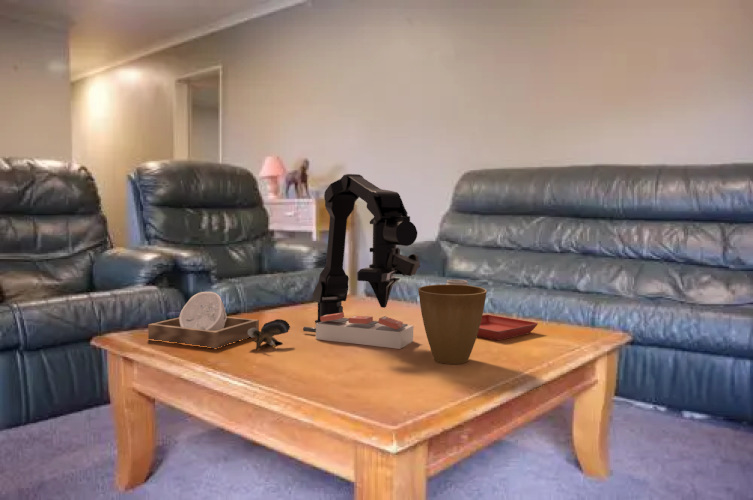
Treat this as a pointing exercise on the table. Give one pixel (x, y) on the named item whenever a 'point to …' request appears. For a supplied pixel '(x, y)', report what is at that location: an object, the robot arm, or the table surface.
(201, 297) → the grey flat disc
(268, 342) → the eagle figurine
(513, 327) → the plant saucer
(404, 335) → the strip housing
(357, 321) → the rocker
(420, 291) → the plant pot
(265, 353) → the table surface
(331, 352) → the table surface
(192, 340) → the wooden tray
